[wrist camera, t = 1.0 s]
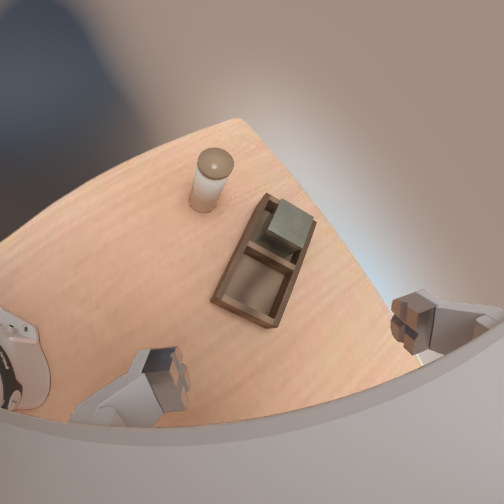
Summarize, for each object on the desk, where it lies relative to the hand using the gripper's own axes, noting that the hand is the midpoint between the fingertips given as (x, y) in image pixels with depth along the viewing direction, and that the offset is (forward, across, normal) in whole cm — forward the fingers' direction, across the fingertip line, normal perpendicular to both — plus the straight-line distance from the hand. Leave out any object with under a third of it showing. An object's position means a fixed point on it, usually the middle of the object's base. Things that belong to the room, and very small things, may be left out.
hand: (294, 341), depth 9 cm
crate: (+40, -3, +9) cm, 41 cm away
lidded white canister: (+44, +6, -4) cm, 45 cm away
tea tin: (+42, -6, +5) cm, 43 cm away
